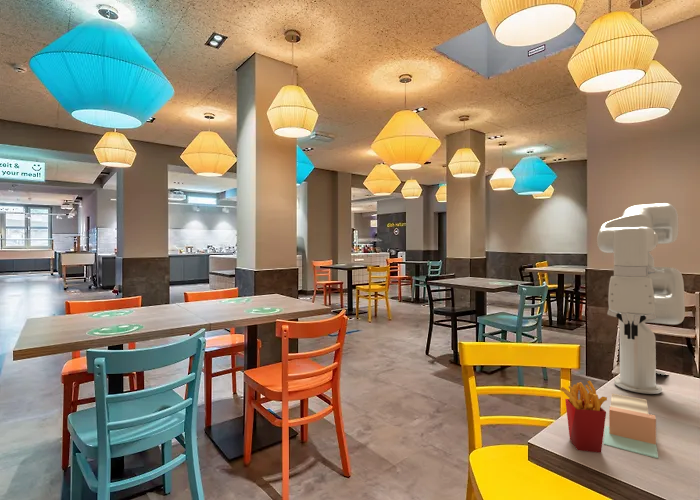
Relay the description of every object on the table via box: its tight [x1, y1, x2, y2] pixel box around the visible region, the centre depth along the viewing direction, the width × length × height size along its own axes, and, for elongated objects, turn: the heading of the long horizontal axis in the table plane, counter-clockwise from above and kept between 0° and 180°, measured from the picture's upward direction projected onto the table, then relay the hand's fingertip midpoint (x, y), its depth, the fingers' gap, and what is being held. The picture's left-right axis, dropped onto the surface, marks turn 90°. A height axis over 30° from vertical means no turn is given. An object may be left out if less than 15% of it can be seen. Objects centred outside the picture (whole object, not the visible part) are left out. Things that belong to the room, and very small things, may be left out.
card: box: [608, 405, 657, 446], centre depth 92 cm, size 6×9×2 cm
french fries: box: [559, 380, 608, 454], centre depth 89 cm, size 9×8×15 cm
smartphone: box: [656, 370, 666, 376], centre depth 137 cm, size 7×15×1 cm, turn 130°
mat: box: [603, 425, 659, 459], centre depth 90 cm, size 11×10×1 cm
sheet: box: [610, 393, 649, 414], centre depth 101 cm, size 16×8×4 cm, turn 144°
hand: (630, 338), depth 103 cm, fingers closed
